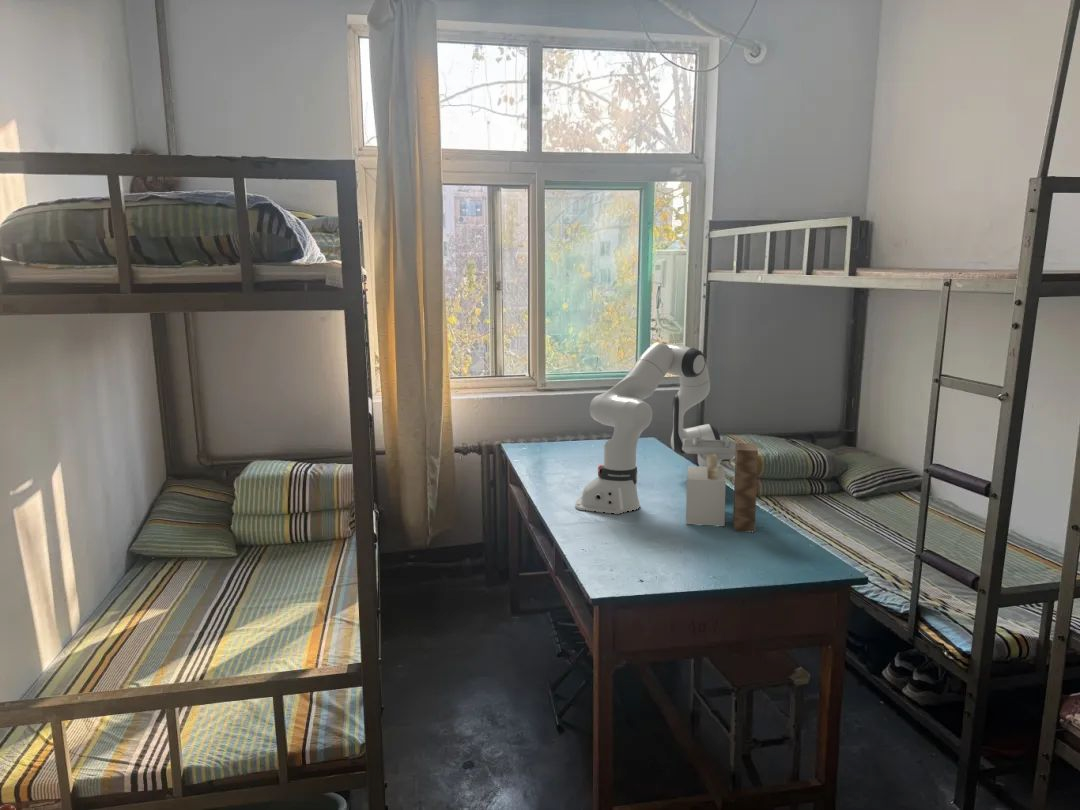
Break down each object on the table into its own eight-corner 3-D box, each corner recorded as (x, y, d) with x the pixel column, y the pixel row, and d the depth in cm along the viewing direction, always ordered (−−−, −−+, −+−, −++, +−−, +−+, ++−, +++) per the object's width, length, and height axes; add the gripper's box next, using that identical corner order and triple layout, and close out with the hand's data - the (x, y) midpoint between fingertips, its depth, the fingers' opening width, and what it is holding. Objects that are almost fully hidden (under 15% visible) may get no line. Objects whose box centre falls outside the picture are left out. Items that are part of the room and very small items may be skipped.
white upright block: (685, 524, 234) (686, 479, 231) (686, 508, 251) (687, 465, 249) (724, 526, 231) (725, 481, 229) (722, 510, 249) (723, 467, 246)
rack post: (734, 531, 227) (737, 449, 223) (733, 521, 236) (735, 443, 232) (754, 532, 226) (757, 450, 221) (752, 522, 235) (755, 443, 231)
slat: (707, 478, 232) (707, 470, 232) (707, 461, 255) (707, 454, 255) (717, 478, 231) (717, 471, 231) (715, 461, 255) (716, 454, 254)
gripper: (682, 442, 278) (682, 430, 266) (737, 444, 274) (739, 432, 261) (681, 458, 276) (681, 446, 263) (737, 461, 272) (739, 449, 259)
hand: (711, 439), depth 262 cm, fingers open, 8 cm apart
